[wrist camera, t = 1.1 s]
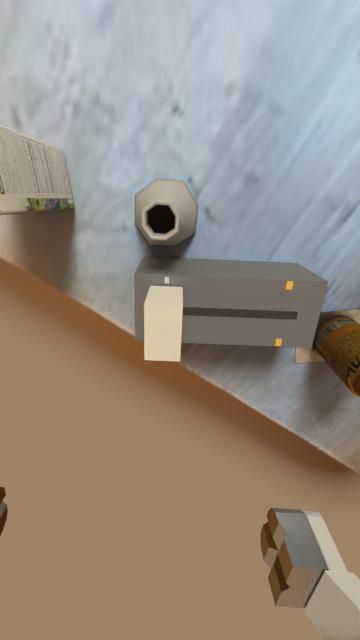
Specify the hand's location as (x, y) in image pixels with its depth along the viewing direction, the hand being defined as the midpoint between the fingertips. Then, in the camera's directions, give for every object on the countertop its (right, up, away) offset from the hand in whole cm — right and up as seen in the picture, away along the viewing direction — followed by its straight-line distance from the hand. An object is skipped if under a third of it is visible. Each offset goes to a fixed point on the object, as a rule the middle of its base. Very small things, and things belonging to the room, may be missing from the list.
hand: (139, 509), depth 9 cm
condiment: (+21, +4, +30) cm, 36 cm away
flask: (0, +18, +24) cm, 30 cm away
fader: (0, +7, +19) cm, 20 cm away
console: (+6, +10, +27) cm, 29 cm away
